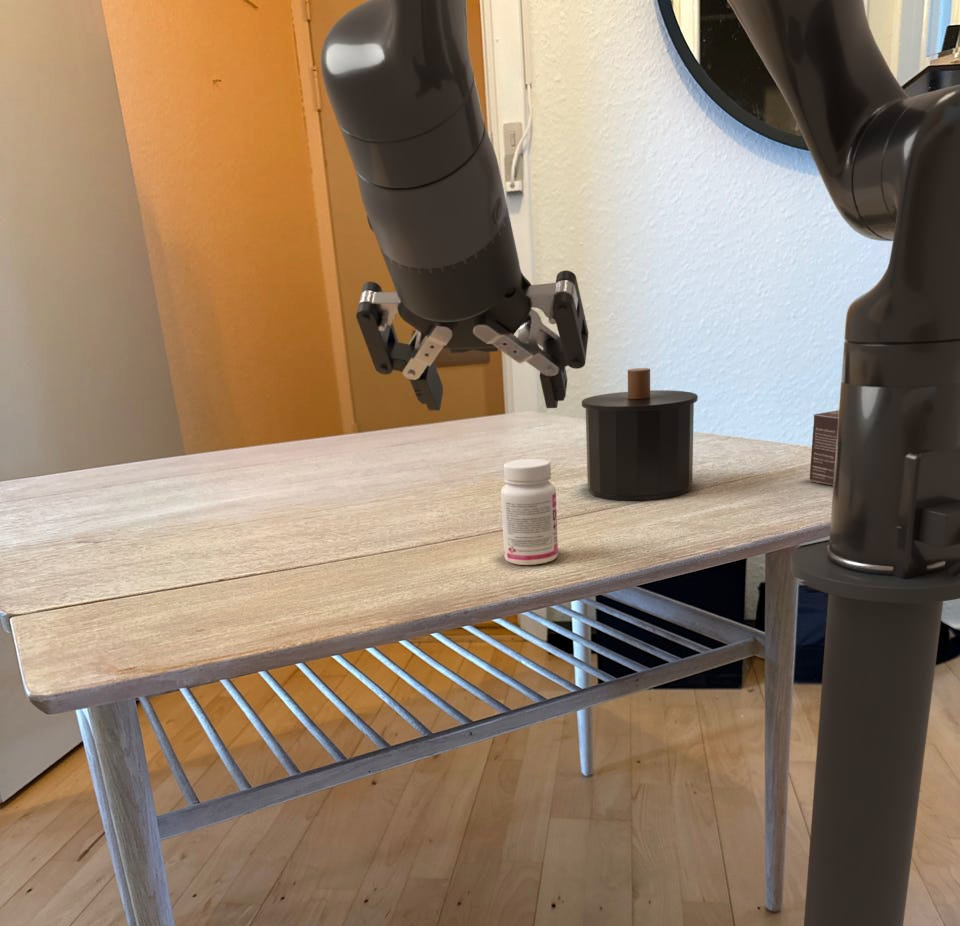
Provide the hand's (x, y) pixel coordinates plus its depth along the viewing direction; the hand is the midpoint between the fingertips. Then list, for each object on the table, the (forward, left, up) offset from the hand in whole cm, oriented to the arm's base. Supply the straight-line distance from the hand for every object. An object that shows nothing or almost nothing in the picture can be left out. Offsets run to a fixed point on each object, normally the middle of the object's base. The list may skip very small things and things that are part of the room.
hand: (494, 399), depth 65 cm
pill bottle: (+9, -7, -15) cm, 19 cm away
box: (+14, -48, -15) cm, 52 cm away
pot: (+26, -29, -15) cm, 42 cm away
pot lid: (+26, -29, -6) cm, 39 cm away
